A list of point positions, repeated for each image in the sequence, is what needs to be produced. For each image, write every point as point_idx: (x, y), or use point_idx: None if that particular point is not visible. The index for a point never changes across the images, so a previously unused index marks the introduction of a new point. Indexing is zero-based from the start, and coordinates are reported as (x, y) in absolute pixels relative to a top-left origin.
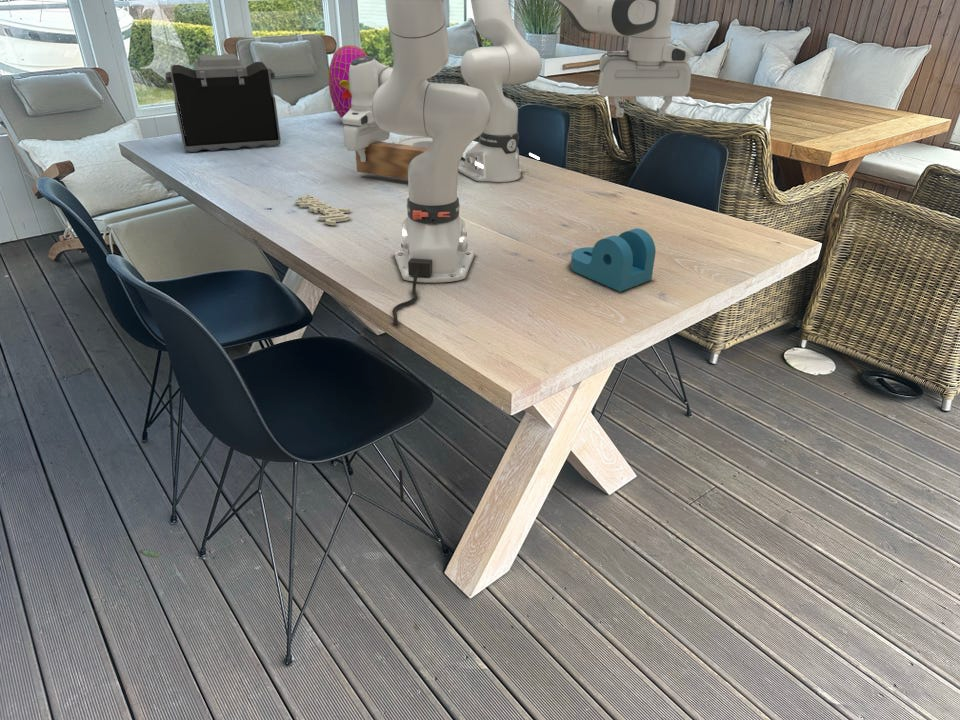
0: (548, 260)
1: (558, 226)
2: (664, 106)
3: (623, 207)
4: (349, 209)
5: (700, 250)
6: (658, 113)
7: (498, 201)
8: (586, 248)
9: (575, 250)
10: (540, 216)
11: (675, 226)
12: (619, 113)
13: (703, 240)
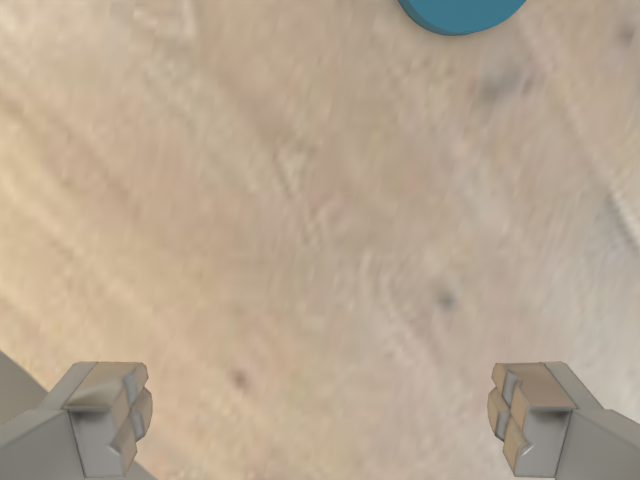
0: (572, 35)
1: (464, 295)
2: (30, 438)
3: (258, 420)
4: None
5: (105, 106)
6: (128, 395)
7: None
8: (479, 20)
9: (520, 1)
10: (491, 364)
11: (145, 289)
12: (558, 380)
13: (84, 185)
